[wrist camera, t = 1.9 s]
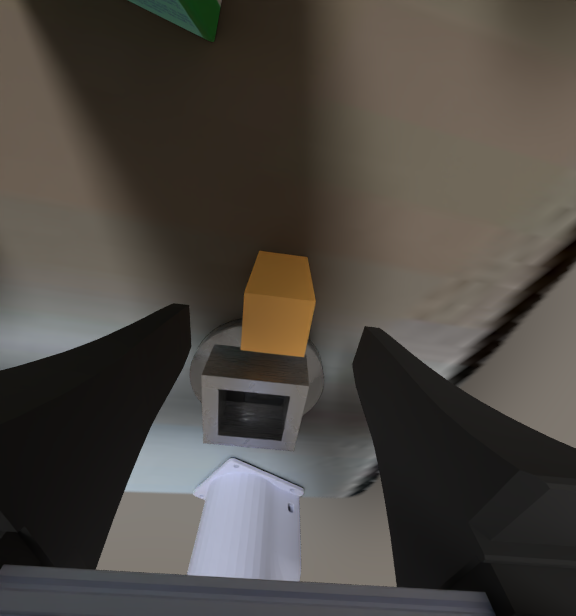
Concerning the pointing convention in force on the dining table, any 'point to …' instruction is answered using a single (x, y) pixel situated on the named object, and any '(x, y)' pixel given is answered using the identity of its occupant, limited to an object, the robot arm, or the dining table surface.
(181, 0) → the milk carton
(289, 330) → the orange block
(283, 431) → the grey square frame
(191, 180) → the dining table surface
